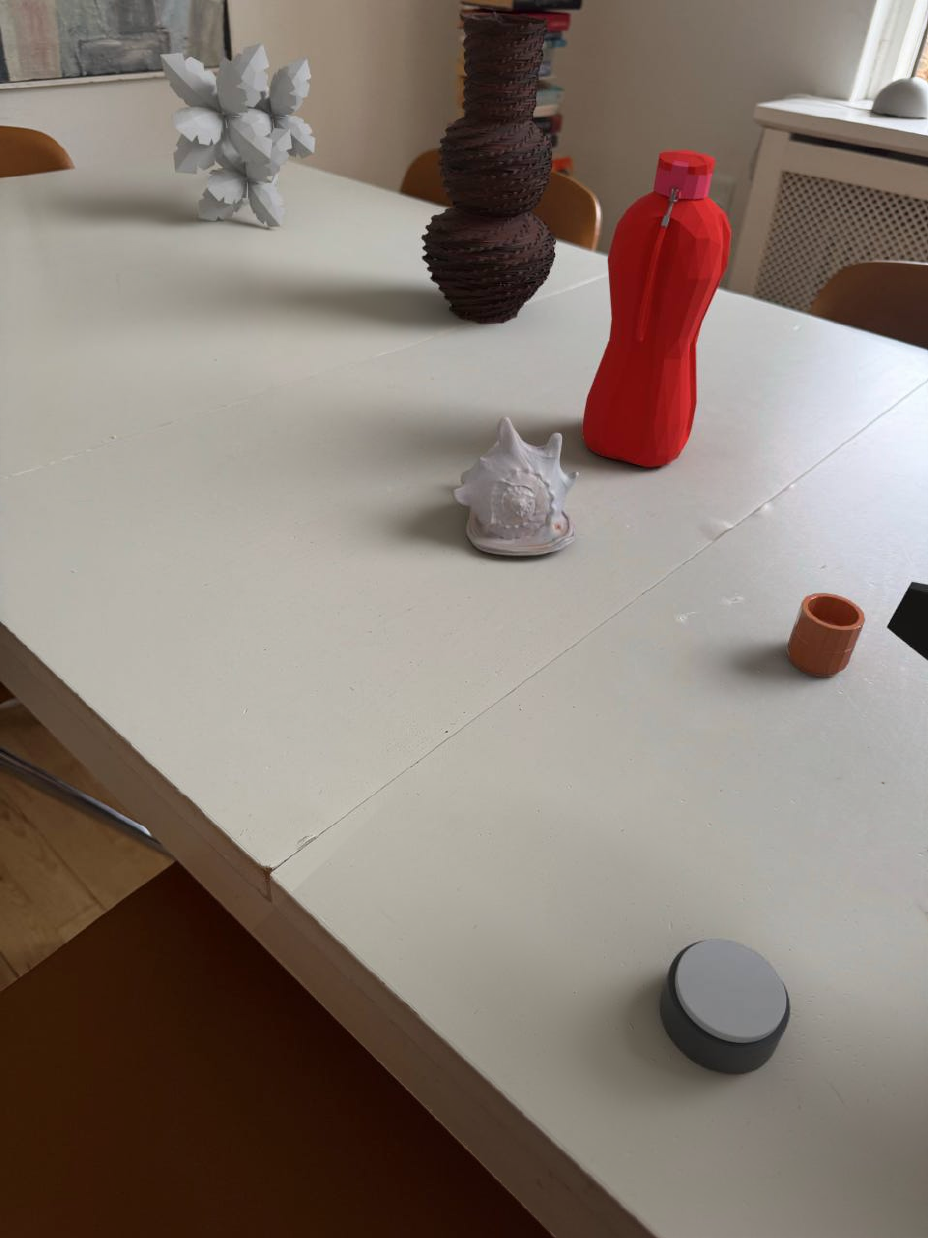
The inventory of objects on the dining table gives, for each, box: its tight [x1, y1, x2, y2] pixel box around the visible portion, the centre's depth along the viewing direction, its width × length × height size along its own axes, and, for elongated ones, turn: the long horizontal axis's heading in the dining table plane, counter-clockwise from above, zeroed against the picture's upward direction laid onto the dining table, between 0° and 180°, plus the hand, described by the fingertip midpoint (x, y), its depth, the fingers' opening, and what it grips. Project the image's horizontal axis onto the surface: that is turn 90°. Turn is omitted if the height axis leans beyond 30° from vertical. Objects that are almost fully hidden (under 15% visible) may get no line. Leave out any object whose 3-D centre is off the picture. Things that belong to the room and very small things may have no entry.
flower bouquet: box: [159, 42, 316, 228], centre depth 137 cm, size 17×34×21 cm, turn 160°
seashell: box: [451, 416, 580, 556], centre depth 75 cm, size 10×12×9 cm
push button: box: [659, 938, 791, 1075], centre depth 43 cm, size 5×5×2 cm
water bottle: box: [581, 149, 732, 469], centre depth 81 cm, size 9×11×25 cm
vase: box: [420, 11, 557, 325], centre depth 106 cm, size 15×15×30 cm
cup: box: [786, 592, 866, 678], centre depth 64 cm, size 4×4×4 cm
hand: (923, 563), depth 41 cm, fingers open, 7 cm apart
